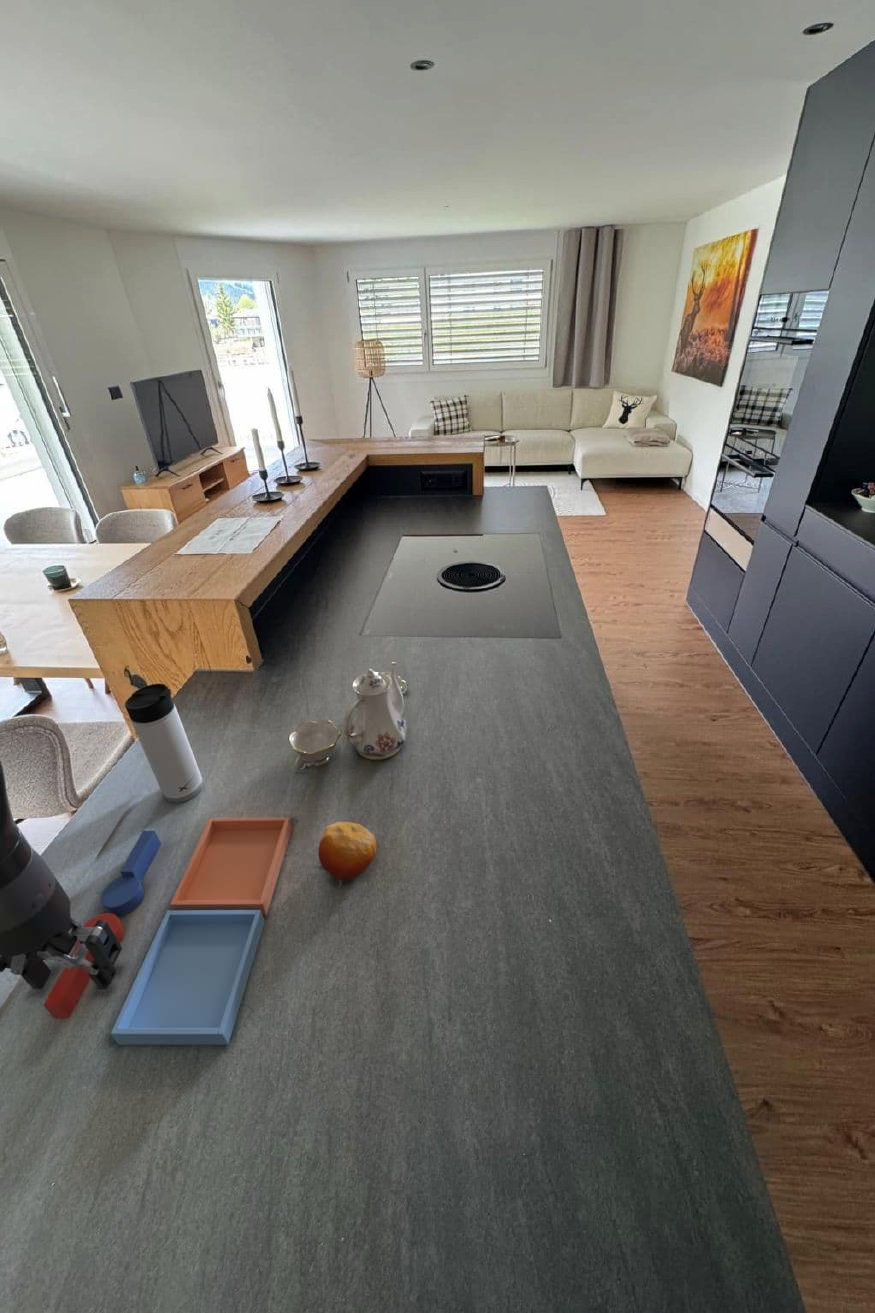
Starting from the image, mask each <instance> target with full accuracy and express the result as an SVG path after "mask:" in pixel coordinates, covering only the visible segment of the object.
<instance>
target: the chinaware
mask: <svg viewBox="0 0 875 1313" xmlns="http://www.w3.org/2000/svg"><path fill="white" fill-rule="evenodd" d="M396 668H397V663H396V662H391V663H390V664H389V666H388V669H387V672H386V671H380V672H377V671H374V669H372V668H369V669H368V670H367V671H366V673H364V674H361V675H359V676H357V677H356V678H354V681H353V682H352V689H353V690H354V692H355V694H356V700H354V701H352V703H351V704H350V705H349V706H348V708H347V710H346V712H345V714H344V715H343V716H344V717H343V720H342V732H343V734H344V735H345V736H346V740H347V741H348V743H350V744H351V745H352V746H353V747H354V748H355V750H356V752H357V753H358V754H359V756H361V757H362V758H364V759H366V760H370V761H383V760H384V761H385V760H387V759H390V758H392V757H394V756H396V755H397V754H398V753H399V752H401V749H402V748H403V745H404V744H405V742H406V737H407V733H408V730H409V724H408V722H407V721H406V720H405V719H404V718H403V717H402V716H403V713H404V710H405V708H404V707H405V702H404V700H405V699H404V695H403V694H405V693H406V692H407V691H408V689H409V685H408V682H407V681H406V680H403V678H402V677H401V676H399V675H396ZM403 683H405V688H404V690H403ZM402 690H403V691H402ZM355 709H357V710H356V714H355V716H354V717H353V719H352V722H351V725H350V727H349V721H350V719H351V716H352V713H353V712H354V710H355ZM341 736H342V733H341V730H340V729H339V728H337V727H336V725H335V723H334V722H333V721H331V719H323V720H320V721H318V722H317V721H312V720H309V721H308V720H307V721H303V722H302V723H301V724H299V726H298V727H297V728H296V729H295V731H294V732H291V733H290V734H289V736H288V737H287V740H288V743H289V745H290V746H291V748H292V749H293V750H294V752H296V753H297V757H296V758H295V761H294V768H295V769H296V771H298V772H302V771H303V770H305V768H306V767H308V768H311V767H312V766H317V767H319V766H322V765H324V764H325V763H329V758H330V757H331V756H332V754H333V753H334V752H335V749H336V747H337V742H338V740H339V739H340V737H341ZM300 759H303V760H305V761H306V762H304V764H303V766H302V767H301V768H299V761H300Z"/></svg>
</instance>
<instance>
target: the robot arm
mask: <svg viewBox="0 0 875 1313" xmlns="http://www.w3.org/2000/svg"><path fill="white" fill-rule="evenodd" d="M77 940H79V942H80V945H79V947H78V949H77V951H76V953H75V954H74V956H73V958H71V956H69V955H70V954H71V952H72V950H73V949H74V947H75V946H76V944H77ZM122 950H123V947H122V944H121V943H119V942H118V940H117V938H116V937H115V935H114V933H113V932H112V930H111V928H110V927H109V925H108V923H107V922H106V921H103V920H98V921H97V922H96V923H95V925H94V927H83V926H82V925H81V923H79V922H78V921H76V920H75V919H74V918H73V917H72V915H71V900H70V897H69V895H68V894H67V893H66V891H65V889H64V888H63V886H62V885H61V883H60V882H59V880H58V879H57V878H56V876H55V874H54V873H53V871H52V870H51V869H50V867H49V865H48V863H47V862H46V861H45V859H44V858H43V857H42V855H41V854H39V852H37V851H36V850H35V849H34V848H33V847H32V845H31V844H30V842H29V841H28V839H27V838H26V837H25V835H24V834H23V831H22V830H21V829H20V828H19V826H18V825H17V823H16V822H15V820H14V817H13V814H12V809H11V805H10V801H9V797H8V790H7V783H6V776H5V771H4V766H3V762H2V760H1V758H0V973H3V972H4V971H5V970H6V969H9V972H10V973H11V974H12V975H15V976H21V977H22V979H23V980H24V981H25V982H26V983H27V984H28V985H29V986H30V987H31V988H32V990H33V991H34V990H35V991H40V990H42V989H44V987H45V985H46V984H47V982H48V981H49V978H50V977H51V974H52V970H51V968H50V967H49V966H48V965H47V963H46V961H53V962H55V963H56V964H59V965H60V966H63V967H64V968H65V967H66V968H68V969H74V968H76V967H78V968H80V969H81V970H83V971H85V972H87V973H89V974H88V975H89V976H90V977H91V978H90V980H92V981H93V983H94V984H95V986H96V987H97V988H98V990H107V989H109V987H110V985H112V982H113V980H114V978H115V977H116V974H117V972H118V970H117V968H116V967H115V964H116V963H117V960H118V958H119V956H120V954H121V952H122ZM88 951H89V952H90V953H91V955H92V957H93V960H92V961H91V962H89V961H87V960H86V959H85V956H86V954H87V952H88Z"/></svg>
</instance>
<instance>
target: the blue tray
mask: <svg viewBox="0 0 875 1313" xmlns="http://www.w3.org/2000/svg"><path fill="white" fill-rule="evenodd" d="M265 922H266V920H265V917H264V915H262V912H261V910H182V911H173V910H166V911H165V914H164V916H163V918H162V920H161V923H160V925H159V927H158V929H157V931H156V934H155V936H154V938H153V941H151V942H152V943H151V944H150V947H149V949H148V950H147V953H146V956H145V958H144V960H143V962H142V964H141V967H140V969H139V971H138V973H137V975H136V977H135V980H134V982H133V983H132V985H131V988H130V990H129V993H128V995H127V997H126V999H125V1001H124V1004H123V1005H122V1007H121V1010H120V1012H119V1014H118V1017H117V1018H116V1021H115V1023H114V1024H113V1027H112V1030H111V1032H110V1035H111V1037H112V1038H113V1040H114V1041H115V1042H116V1044H117V1045H121V1046H122V1045H128V1046H129V1045H131V1046H132V1045H134V1046H135V1045H138V1046H141V1045H142V1046H143V1045H145V1046H147V1045H148V1046H149V1045H151V1046H152V1045H155V1046H156V1045H159V1046H160V1045H163V1046H164V1045H165V1046H166V1045H167V1046H169V1045H170V1046H174V1045H176V1046H177V1045H178V1046H179V1045H180V1046H181V1045H182V1046H183V1045H184V1046H185V1045H186V1046H191V1045H193V1046H197V1045H198V1046H208V1045H209V1046H229V1044H230V1041H231V1038H232V1033H233V1030H234V1027H235V1024H236V1020H237V1017H238V1013H239V1010H240V1006H241V1003H242V1001H243V996H244V993H245V990H246V986H247V983H248V981H249V977H250V973H251V969H252V967H253V963H254V960H255V956H256V953H257V951H258V950H257V949H258V946H259V942H260V939H261V935H262V933H263V928H264V927H265V926H264V925H265Z"/></svg>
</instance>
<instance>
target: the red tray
mask: <svg viewBox="0 0 875 1313" xmlns="http://www.w3.org/2000/svg"><path fill="white" fill-rule="evenodd" d="M292 831H293V826H292V821H291V818H290V817H289V816H287V817H286V816H285V817H283V816H282V817H281V816H279V817H214V818H212V817H211V818H209V819H208V821H207V823H206V825H205V828H204V829H203V831H202V834H201V836H200V838H199V840H198V843H197V845H196V847H195V849H194V851H193V853H192V856H191V858H190V860H189V862H188V864H187V866H186V868H185V871H184V873H183V875H182V877H181V879H180V882H179V884H178V886H177V888H176V891H175V893H174V894H173V896H172V899H171V901H170V903H169V906H170V908H171V911H182V910H261V912H262V915H263V916H268V912H269V909H270V905H271V902H272V898H273V895H274V893H275V892H274V891H275V888H276V885H277V882H278V879H279V875H280V871H281V868H282V865H283V863H284V862H283V861H284V858H285V854H286V851H287V848H288V844H289V841H290V838H291V835H292Z"/></svg>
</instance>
